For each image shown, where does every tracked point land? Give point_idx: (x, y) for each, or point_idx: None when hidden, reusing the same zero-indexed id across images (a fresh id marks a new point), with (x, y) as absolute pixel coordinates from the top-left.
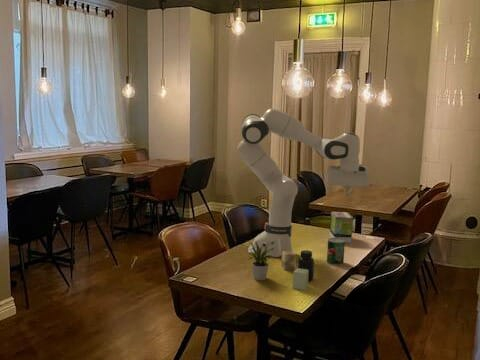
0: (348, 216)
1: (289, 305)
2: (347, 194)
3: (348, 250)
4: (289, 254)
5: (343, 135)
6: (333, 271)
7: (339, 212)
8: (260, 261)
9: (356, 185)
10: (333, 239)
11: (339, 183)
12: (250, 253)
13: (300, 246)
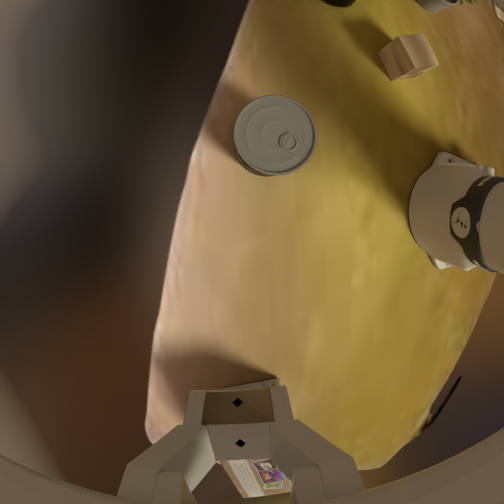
0: (236, 462)
1: None
2: (234, 391)
3: (224, 314)
4: (414, 35)
5: None
6: (265, 55)
7: (272, 489)
8: None
9: (36, 484)
10: (291, 148)
11: (466, 484)
12: (477, 2)
13: (385, 298)
